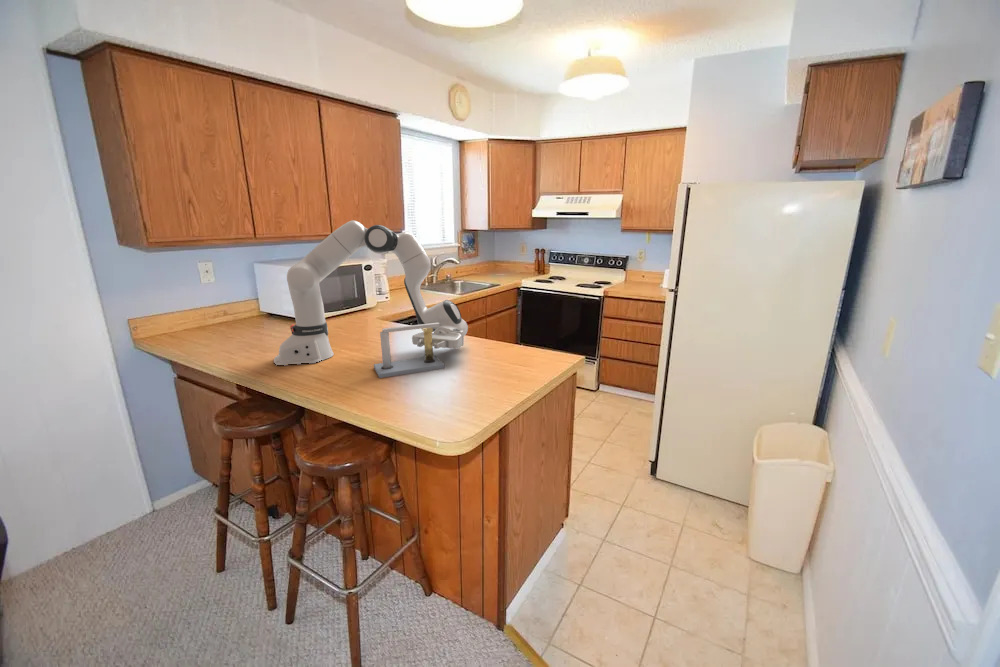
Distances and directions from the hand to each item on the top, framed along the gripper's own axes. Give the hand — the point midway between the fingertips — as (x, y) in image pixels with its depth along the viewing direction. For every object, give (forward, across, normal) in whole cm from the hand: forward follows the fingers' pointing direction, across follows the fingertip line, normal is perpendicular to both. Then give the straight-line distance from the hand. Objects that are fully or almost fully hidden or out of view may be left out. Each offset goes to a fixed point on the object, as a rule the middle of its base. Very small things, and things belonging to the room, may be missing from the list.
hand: (427, 345), depth 162 cm
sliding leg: (-1, 0, +6) cm, 6 cm away
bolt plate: (+5, -6, +8) cm, 11 cm away
